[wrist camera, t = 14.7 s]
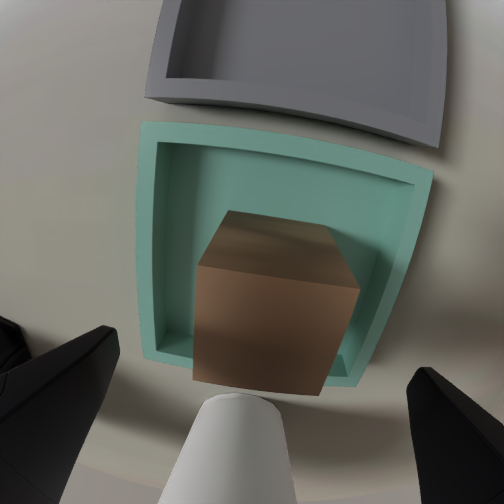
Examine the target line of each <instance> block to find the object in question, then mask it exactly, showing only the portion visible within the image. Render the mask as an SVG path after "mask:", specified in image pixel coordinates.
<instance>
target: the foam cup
mask: <svg viewBox="0 0 504 504" xmlns="http://www.w3.org/2000/svg"><path fill="white" fill-rule="evenodd" d="M157 504H297V500H296V495H295V489H294V483H293V478H292V472H291V466H290V461H289V455H288V449H287V444H286V438H285V432H284V427H283V421H282V419H281V413H280V412H279V410H278V409H277V408H276V407H275V406H274V404H273V403H271V402H268V401H266V400H264V399H262V398H260V397H258V396H253V395H247V394H241V393H230V394H220V395H216V396H214V397H212V398H210V399H208V400H206V401H204V403H203V404H202V406H201V408H200V410H199V413H198V414H197V416H196V418H195V421H194V423H193V425H192V427H191V430H190V432H189V434H188V436H187V439H186V441H185V443H184V446H183V448H182V450H181V452H180V455H179V457H178V459H177V461H176V464H175V466H174V468H173V470H172V472H171V475H170V477H169V479H168V481H167V484H166V486H165V488H164V490H163V492H162V495H161V497H160V499H159V501H158V503H157Z"/></svg>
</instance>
